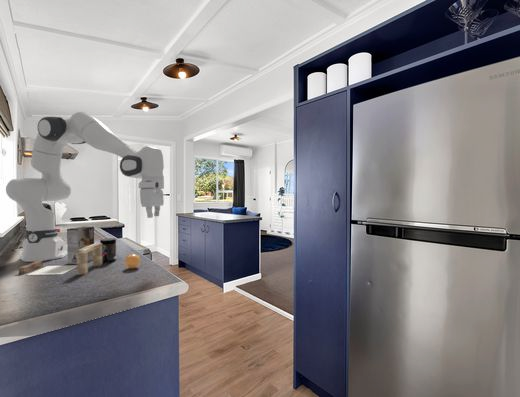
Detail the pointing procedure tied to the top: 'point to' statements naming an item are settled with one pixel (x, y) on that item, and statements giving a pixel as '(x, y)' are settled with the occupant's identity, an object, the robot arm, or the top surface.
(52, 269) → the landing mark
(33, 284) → the top surface
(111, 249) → the supplement container
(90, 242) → the coffee box
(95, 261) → the bridge
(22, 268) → the stopper
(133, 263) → the ball
